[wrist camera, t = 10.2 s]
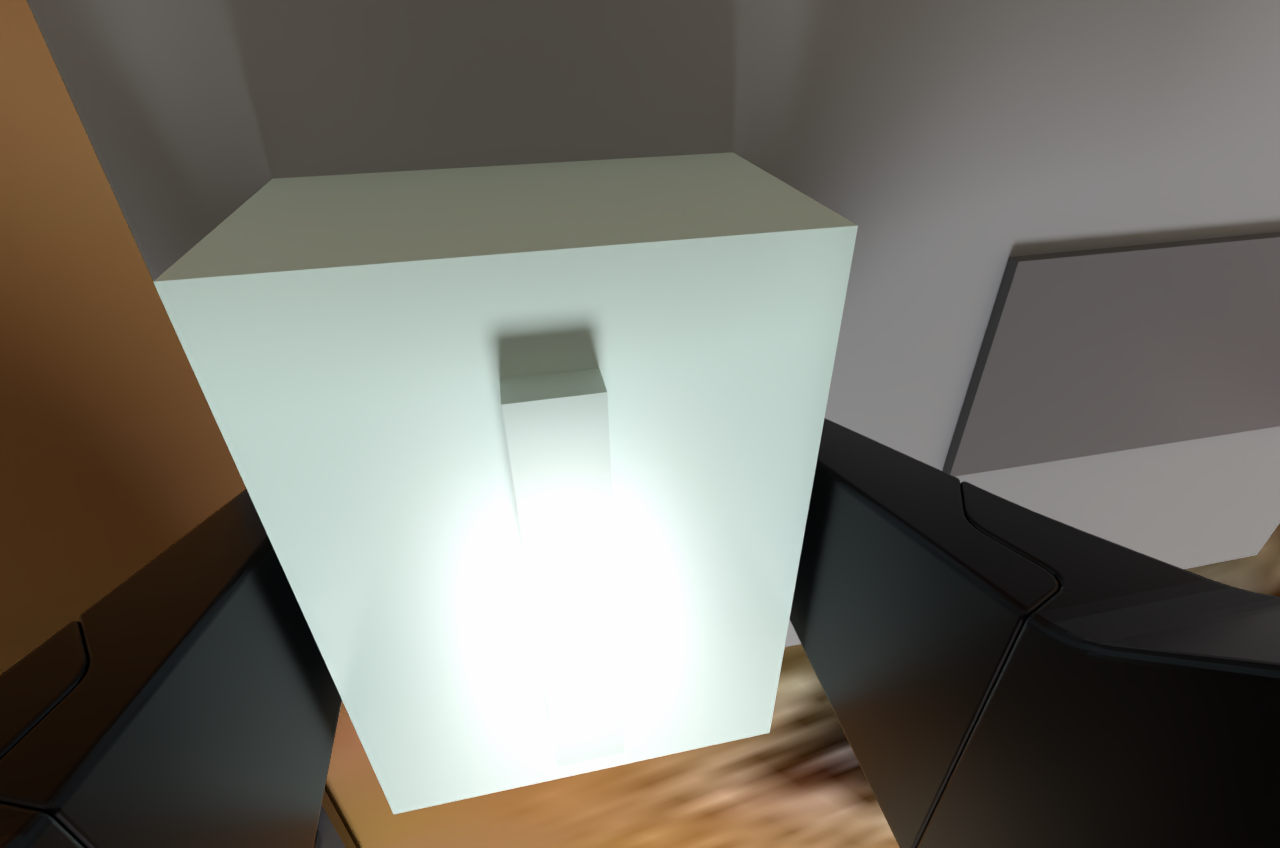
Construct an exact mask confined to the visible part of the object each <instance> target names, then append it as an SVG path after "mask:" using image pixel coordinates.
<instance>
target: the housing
mask: <svg viewBox="0 0 1280 848" xmlns="http://www.w3.org/2000/svg"><path fill="white" fill-rule="evenodd" d="M27 2H28V4H29V7H30V9H31V11H32V13H33V15H34V18H35V20H36V22H37V24H38V27H39V29H40V31H41V33H42V35H43V38H44V40H45V42H46V44H47V46H48V49H49V51H50V53H51V55H52V58H53V60H54V62H55V64H56V66H57V69H58V71H59V73H60V75H61V77H62V80H63V82H64V84H65V86H66V89H67V91H68V93H69V95H70V97H71V100H72V102H73V104H74V106H75V109H76V111H77V113H78V115H79V117H80V120H81V122H82V124H83V126H84V128H85V131H86V133H87V135H88V137H89V140H90V142H91V144H92V146H93V148H94V151H95V153H96V155H97V157H98V159H99V162H100V164H101V166H102V168H103V171H104V173H105V175H106V177H107V179H108V182H109V184H110V186H111V188H112V190H113V193H114V195H115V197H116V199H117V202H118V204H119V206H120V208H121V210H122V213H123V215H124V217H125V219H126V222H127V224H128V226H129V228H130V230H131V233H132V235H133V237H134V239H135V241H136V244H137V246H138V248H139V250H140V253H141V255H142V257H143V259H144V261H145V264H146V266H147V268H148V270H149V272H150V275H151V277H152V279H153V281H155V280H156V279H157V278H158V277H159V276H160V275H162V274H163V273H164V272H165V271H166V270H167V269H168V268H170V267H171V266H172V265H173V264H174V263H175V262H177V261H178V260H179V259H180V258H181V257H182V256H184V255H185V254H186V253H187V252H188V251H189V250H190V249H192V248H193V247H194V246H195V245H196V244H197V243H199V242H200V241H201V240H202V239H203V238H204V237H206V236H207V235H208V234H209V233H210V232H211V231H213V230H214V229H215V228H216V227H217V226H218V225H219V224H221V223H222V222H223V221H224V220H225V219H226V218H228V217H229V216H230V215H231V214H232V213H233V212H235V211H236V210H237V209H238V208H239V207H240V206H241V205H243V204H244V203H245V202H246V201H247V200H248V199H250V198H251V197H252V196H253V195H254V194H255V193H257V192H258V191H259V190H260V189H261V188H262V187H263V186H265V185H266V184H267V183H268V182H269V181H270V180H272V179H274V178H291V177H309V176H326V175H344V174H361V173H379V172H396V171H414V170H431V169H449V168H466V167H484V166H502V165H519V164H537V163H554V162H572V161H589V160H607V159H624V158H642V157H659V156H677V155H694V154H712V153H729V152H733V153H735V154H737V155H739V156H740V157H742V158H744V159H745V160H747V161H749V162H750V163H752V164H754V165H756V166H757V167H759V168H761V169H762V170H764V171H766V172H768V173H769V174H771V175H773V176H774V177H776V178H778V179H779V180H781V181H783V182H785V183H786V184H788V185H790V186H791V187H793V188H795V189H797V190H798V191H800V192H802V193H803V194H805V195H807V196H808V197H810V198H812V199H814V200H815V201H817V202H819V203H820V204H822V205H824V206H826V207H827V208H829V209H831V210H832V211H834V212H836V213H838V214H839V215H841V216H843V217H844V218H846V219H848V220H849V221H851V222H853V223H855V224H856V225H858V229H857V234H856V240H855V246H854V252H853V257H852V263H851V269H850V275H849V280H848V286H847V292H846V298H845V303H844V309H843V315H842V320H841V326H840V332H839V338H838V343H837V349H836V355H835V361H834V366H833V372H832V378H831V384H830V389H829V395H828V401H827V406H826V412H825V418H826V419H828V420H830V421H833V422H835V423H837V424H839V425H842V426H844V427H846V428H848V429H850V430H853V431H855V432H857V433H859V434H861V435H864V436H866V437H868V438H870V439H873V440H875V441H877V442H879V443H881V444H884V445H886V446H888V447H890V448H892V449H895V450H897V451H899V452H901V453H904V454H906V455H908V456H910V457H912V458H915V459H917V460H919V461H921V462H923V463H926V464H928V465H930V466H932V467H935V468H937V469H939V470H941V471H943V472H946V473H948V474H950V475H952V476H954V477H957V478H958V479H959V480H960V483H961V482H963V481H966V482H968V483H970V484H972V485H975V486H977V487H979V488H981V489H983V490H986V491H988V492H990V493H992V494H994V495H997V496H999V497H1001V498H1004V499H1006V500H1008V501H1011V502H1013V503H1015V504H1018V505H1020V506H1022V507H1025V508H1027V509H1029V510H1032V511H1034V512H1036V513H1039V514H1041V515H1044V516H1046V517H1049V518H1052V519H1054V520H1057V521H1059V522H1062V523H1064V524H1067V525H1069V526H1072V527H1074V528H1077V529H1079V530H1082V531H1084V532H1087V533H1090V534H1092V535H1095V536H1097V537H1100V538H1103V539H1105V540H1108V541H1111V542H1113V543H1116V544H1118V545H1121V546H1124V547H1126V548H1129V549H1131V550H1134V551H1137V552H1139V553H1142V554H1145V555H1147V556H1150V557H1152V558H1155V559H1158V560H1160V561H1163V562H1166V563H1168V564H1171V565H1173V566H1176V567H1179V568H1181V569H1189V568H1194V567H1199V566H1204V565H1209V564H1214V563H1219V562H1224V561H1230V560H1235V559H1240V558H1245V557H1250V556H1255V555H1257V554H1258V553H1259V552H1260V550H1261V549H1262V547H1263V546H1264V545H1265V543H1266V542H1267V540H1268V539H1269V538H1270V536H1271V535H1272V533H1273V532H1274V531H1275V529H1276V528H1277V527H1278V525H1279V524H1280V0H27ZM798 644H801V642H800V640H799V638H798V636H797V634H796V632H795V630H794V628H793V626H792V623H791V621H790V619H789V624H788V630H787V636H786V641H785V647H788V646H793V645H798Z"/></svg>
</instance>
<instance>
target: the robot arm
mask: <svg viewBox="0 0 1280 848" xmlns="http://www.w3.org/2000/svg"><path fill="white" fill-rule="evenodd" d="M79 621H80V622H79ZM79 621H72V622H70V623H69V624H68V625H66V626H65V627H64V628H63V629H61V630H60V631H59V632H57V633H56V634H55V635H53V636H52V637H51V638H50V639H48V640H47V641H46V642H44V643H43V644H42V645H40V646H39V647H38V648H36V649H35V650H34V651H32V652H31V653H30V654H28V655H27V656H26V657H24V658H23V659H22V660H20V661H19V662H17V663H16V664H15V665H13V666H12V667H11V668H9V669H8V670H7V671H5V672H4V673H3V674H1V675H0V848H356V846H355V844H354V842H353V840H352V839H351V837H350V835H349V833H348V831H347V830H346V828H345V826H344V824H343V822H342V820H341V819H340V817H339V815H338V813H337V811H336V809H335V808H334V806H333V804H332V802H331V800H330V799H329V797H328V795H327V793H326V791H325V784H326V779H327V774H328V768H329V763H330V758H331V753H332V748H333V743H334V737H335V732H336V727H337V722H338V717H339V712H340V706H341V701H342V699H341V696H340V694H339V692H338V690H337V688H336V685H335V683H334V681H333V679H332V677H331V674H330V672H329V670H328V668H327V665H326V663H325V661H324V659H323V657H322V654H321V652H320V650H319V648H318V646H317V643H316V641H315V639H314V637H313V634H312V632H311V630H310V628H309V626H308V623H307V621H306V619H305V617H304V615H303V612H302V610H301V608H300V606H299V603H298V601H297V599H296V597H295V595H294V592H293V590H292V588H291V586H290V584H289V581H288V579H287V577H286V575H285V573H284V570H283V568H282V566H281V564H280V561H279V559H278V557H277V555H276V553H275V550H274V548H273V546H272V544H271V542H270V539H269V537H268V535H267V533H266V530H265V528H264V526H263V524H262V522H261V519H260V517H259V515H258V513H257V511H256V508H255V506H254V504H253V502H252V499H251V497H250V495H249V493H248V491H247V489H245V490H244V491H243V492H241V493H240V494H239V495H237V496H236V497H235V498H234V499H232V500H231V501H230V502H228V503H227V504H226V505H224V506H223V507H222V508H220V509H219V510H218V511H216V512H215V513H214V514H213V515H211V516H210V517H209V518H207V519H206V520H205V521H203V522H202V523H201V524H199V525H198V526H197V527H195V528H194V529H193V530H191V531H190V532H189V533H188V534H186V535H185V536H184V537H182V538H181V539H180V540H178V541H177V542H176V543H174V544H173V545H172V546H170V547H169V548H168V549H167V550H165V551H164V552H163V553H161V554H160V555H159V556H157V557H156V558H155V559H153V560H152V561H151V562H149V563H148V564H147V565H146V566H144V567H143V568H142V569H140V570H139V571H138V572H136V573H135V574H134V575H132V576H131V577H130V578H128V579H127V580H126V581H124V582H123V583H122V584H121V585H119V586H118V587H117V588H115V589H114V590H113V591H111V592H110V593H109V594H107V595H106V596H105V597H103V598H102V599H101V600H100V601H98V602H97V603H96V604H94V605H93V606H92V607H90V608H89V609H88V610H86V611H85V612H84V613H82V614H81V615H80V617H79ZM790 621H791V623H792V626H793V628H794V630H795V632H796V634H797V636H798V638H799V640H800V642H801V644H802V646H803V648H804V650H805V652H806V654H807V657H808V659H809V661H810V663H811V665H812V667H813V669H814V671H815V673H816V675H817V677H818V679H819V681H820V683H821V686H822V688H823V690H824V692H825V694H826V696H827V698H828V700H829V702H830V704H831V706H832V708H833V710H834V712H835V714H836V717H837V719H838V721H839V723H840V725H841V727H842V729H843V731H844V733H845V735H846V737H847V739H848V741H849V743H850V746H851V748H852V750H853V752H854V754H855V756H856V758H857V760H858V762H859V764H860V766H861V768H862V770H863V772H864V774H865V777H866V779H867V781H868V783H869V785H870V787H871V789H872V791H873V793H874V795H875V797H876V799H877V801H878V803H879V806H880V808H881V810H882V812H883V814H884V816H885V818H886V820H887V822H888V824H889V826H890V828H891V830H892V832H893V834H894V837H895V839H896V841H897V843H898V845H899V847H900V848H1280V597H1276V596H1270V595H1265V594H1259V593H1254V592H1250V591H1246V590H1242V589H1239V588H1235V587H1231V586H1228V585H1225V584H1222V583H1219V582H1216V581H1213V580H1210V579H1207V578H1205V577H1202V576H1200V575H1197V574H1194V573H1192V572H1189V571H1186V570H1184V569H1181V568H1179V567H1176V566H1173V565H1171V564H1168V563H1166V562H1163V561H1160V560H1158V559H1155V558H1152V557H1150V556H1147V555H1145V554H1142V553H1139V552H1137V551H1134V550H1131V549H1129V548H1126V547H1124V546H1121V545H1118V544H1116V543H1113V542H1111V541H1108V540H1105V539H1103V538H1100V537H1097V536H1095V535H1092V534H1090V533H1087V532H1084V531H1082V530H1079V529H1077V528H1074V527H1072V526H1069V525H1067V524H1064V523H1062V522H1059V521H1057V520H1054V519H1052V518H1049V517H1046V516H1044V515H1041V514H1039V513H1036V512H1034V511H1032V510H1029V509H1027V508H1025V507H1022V506H1020V505H1018V504H1015V503H1013V502H1011V501H1008V500H1006V499H1004V498H1001V497H999V496H997V495H994V494H992V493H990V492H988V491H986V490H983V489H981V488H979V487H977V486H975V485H972V484H970V483H968V482H966V481H963V482H961V483H960V480H959V479H958V478H957V477H954V476H952V475H950V474H948V473H946V472H943V471H941V470H939V469H937V468H935V467H932V466H930V465H928V464H926V463H923V462H921V461H919V460H917V459H915V458H912V457H910V456H908V455H906V454H904V453H901V452H899V451H897V450H895V449H892V448H890V447H888V446H886V445H884V444H881V443H879V442H877V441H875V440H873V439H870V438H868V437H866V436H864V435H861V434H859V433H857V432H855V431H853V430H850V429H848V428H846V427H844V426H842V425H839V424H837V423H835V422H833V421H830V420H828V419H826V418H824V424H823V429H822V435H821V441H820V447H819V452H818V458H817V464H816V469H815V475H814V481H813V487H812V492H811V498H810V504H809V510H808V515H807V521H806V527H805V533H804V538H803V544H802V550H801V555H800V561H799V567H798V573H797V578H796V584H795V590H794V596H793V601H792V607H791V613H790Z"/></svg>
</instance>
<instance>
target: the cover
mask: <svg viewBox="0 0 1280 848" xmlns="http://www.w3.org/2000/svg"><path fill="white" fill-rule="evenodd" d="M857 229H858V225H856V224H855V223H853V222H851V221H849V220H848V219H846V218H844V217H843V216H841V215H839V214H838V213H836V212H834V211H832V210H831V209H829V208H827V207H826V206H824V205H822V204H820V203H819V202H817V201H815V200H814V199H812V198H810V197H808V196H807V195H805V194H803V193H802V192H800V191H798V190H797V189H795V188H793V187H791V186H790V185H788V184H786V183H785V182H783V181H781V180H779V179H778V178H776V177H774V176H773V175H771V174H769V173H768V172H766V171H764V170H762V169H761V168H759V167H757V166H756V165H754V164H752V163H750V162H749V161H747V160H745V159H744V158H742V157H740V156H739V155H737V154H735V153H733V152H729V153H712V154H694V155H677V156H659V157H642V158H624V159H607V160H589V161H572V162H554V163H537V164H519V165H502V166H484V167H466V168H449V169H431V170H414V171H396V172H379V173H361V174H344V175H326V176H309V177H291V178H274V179H272V180H270V181H269V182H268V183H267V184H266V185H265V186H263V187H262V188H261V189H260V190H259V191H258V192H257V193H255V194H254V195H253V196H252V197H251V198H250V199H248V200H247V201H246V202H245V203H244V204H243V205H241V206H240V207H239V208H238V209H237V210H236V211H235V212H233V213H232V214H231V215H230V216H229V217H228V218H226V219H225V220H224V221H223V222H222V223H221V224H219V225H218V226H217V227H216V228H215V229H214V230H213V231H211V232H210V233H209V234H208V235H207V236H206V237H204V238H203V239H202V240H201V241H200V242H199V243H197V244H196V245H195V246H194V247H193V248H192V249H190V250H189V251H188V252H187V253H186V254H185V255H184V256H182V257H181V258H180V259H179V260H178V261H177V262H175V263H174V264H173V265H172V266H171V267H170V268H168V269H167V270H166V271H165V272H164V273H163V274H162V275H160V276H159V277H158V278H157V279H156V280H155V281H153V283H154V285H155V287H156V289H157V291H158V294H159V296H160V298H161V300H162V303H163V305H164V307H165V309H166V311H167V314H168V316H169V318H170V320H171V322H172V325H173V327H174V329H175V331H176V334H177V336H178V338H179V340H180V342H181V345H182V347H183V349H184V351H185V353H186V356H187V358H188V360H189V362H190V364H191V367H192V369H193V371H194V373H195V376H196V378H197V380H198V382H199V384H200V387H201V389H202V391H203V393H204V395H205V398H206V400H207V402H208V404H209V407H210V409H211V411H212V413H213V415H214V418H215V420H216V422H217V424H218V426H219V429H220V431H221V433H222V435H223V438H224V440H225V442H226V444H227V446H228V449H229V451H230V453H231V455H232V457H233V460H234V462H235V464H236V466H237V468H238V471H239V473H240V475H241V477H242V480H243V482H244V484H245V486H246V488H247V491H248V493H249V495H250V497H251V499H252V502H253V504H254V506H255V508H256V511H257V513H258V515H259V517H260V519H261V522H262V524H263V526H264V528H265V530H266V533H267V535H268V537H269V539H270V542H271V544H272V546H273V548H274V550H275V553H276V555H277V557H278V559H279V561H280V564H281V566H282V568H283V570H284V573H285V575H286V577H287V579H288V581H289V584H290V586H291V588H292V590H293V592H294V595H295V597H296V599H297V601H298V603H299V606H300V608H301V610H302V612H303V615H304V617H305V619H306V621H307V623H308V626H309V628H310V630H311V632H312V634H313V637H314V639H315V641H316V643H317V646H318V648H319V650H320V652H321V654H322V657H323V659H324V661H325V663H326V665H327V668H328V670H329V672H330V674H331V677H332V679H333V681H334V683H335V685H336V688H337V690H338V692H339V694H340V696H341V699H342V701H343V703H344V705H345V707H346V710H347V712H348V714H349V716H350V719H351V721H352V723H353V725H354V727H355V730H356V732H357V734H358V736H359V738H360V741H361V743H362V745H363V747H364V750H365V752H366V754H367V756H368V758H369V761H370V763H371V765H372V767H373V769H374V772H375V774H376V776H377V778H378V781H379V783H380V785H381V787H382V789H383V792H384V794H385V796H386V798H387V800H388V803H389V805H390V807H391V809H392V812H393V814H398V813H403V812H407V811H412V810H416V809H421V808H426V807H430V806H435V805H439V804H444V803H449V802H453V801H458V800H462V799H467V798H472V797H476V796H481V795H485V794H490V793H495V792H499V791H504V790H508V789H513V788H518V787H522V786H527V785H531V784H536V783H541V782H545V781H550V780H554V779H559V778H564V777H568V776H573V775H577V774H582V773H587V772H591V771H596V770H600V769H605V768H610V767H614V766H619V765H623V764H628V763H633V762H637V761H642V760H646V759H651V758H656V757H660V756H665V755H669V754H674V753H679V752H683V751H688V750H692V749H697V748H702V747H706V746H711V745H715V744H720V743H725V742H729V741H734V740H738V739H743V738H748V737H752V736H757V735H761V734H766V733H770V727H771V722H772V716H773V710H774V705H775V699H776V693H777V687H778V682H779V676H780V670H781V664H782V659H783V653H784V647H785V641H786V636H787V630H788V624H789V619H790V613H791V607H792V601H793V596H794V590H795V584H796V578H797V573H798V567H799V561H800V555H801V550H802V544H803V538H804V533H805V527H806V521H807V515H808V510H809V504H810V498H811V492H812V487H813V481H814V475H815V469H816V464H817V458H818V452H819V447H820V441H821V435H822V429H823V424H824V418H825V412H826V406H827V401H828V395H829V389H830V384H831V378H832V372H833V366H834V361H835V355H836V349H837V343H838V338H839V332H840V326H841V320H842V315H843V309H844V303H845V298H846V292H847V286H848V280H849V275H850V269H851V263H852V257H853V252H854V246H855V240H856V234H857Z"/></svg>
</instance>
